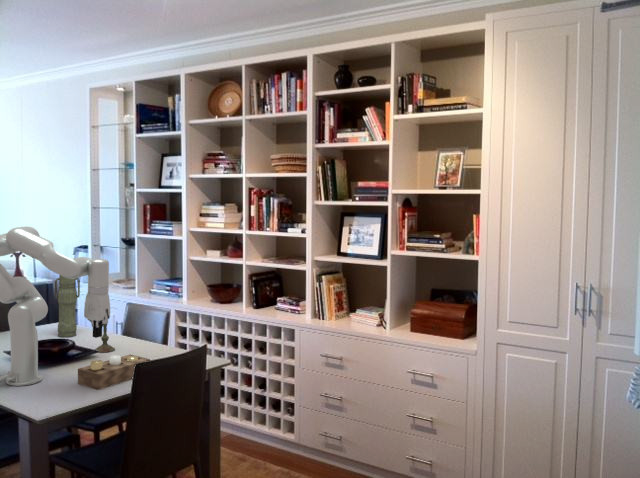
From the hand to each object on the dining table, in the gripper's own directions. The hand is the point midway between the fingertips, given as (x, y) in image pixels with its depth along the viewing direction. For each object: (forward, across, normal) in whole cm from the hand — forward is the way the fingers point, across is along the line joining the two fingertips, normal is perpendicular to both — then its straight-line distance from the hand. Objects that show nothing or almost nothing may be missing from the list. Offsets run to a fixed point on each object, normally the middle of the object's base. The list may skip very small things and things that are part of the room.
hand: (97, 336), depth 224 cm
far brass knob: (+18, +1, +18) cm, 25 cm away
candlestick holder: (+19, -36, +34) cm, 53 cm away
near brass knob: (+15, 0, 0) cm, 15 cm away
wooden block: (+19, 0, +9) cm, 21 cm away
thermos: (+20, -74, +42) cm, 87 cm away
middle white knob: (+15, 0, +9) cm, 18 cm away
